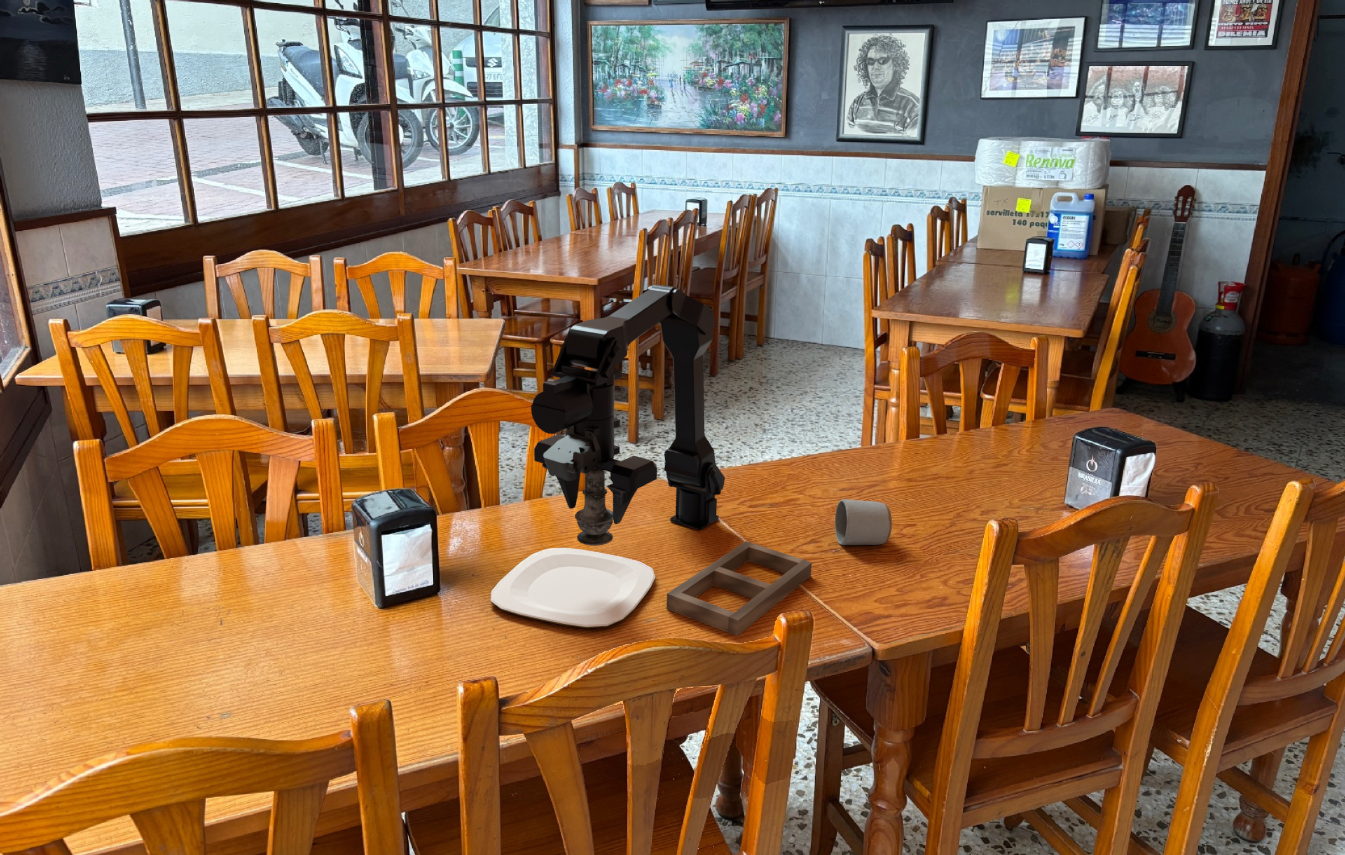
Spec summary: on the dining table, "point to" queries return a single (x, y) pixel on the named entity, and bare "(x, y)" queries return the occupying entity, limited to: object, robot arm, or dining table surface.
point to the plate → (574, 587)
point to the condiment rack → (739, 587)
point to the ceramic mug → (862, 522)
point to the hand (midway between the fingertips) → (594, 515)
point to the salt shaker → (594, 511)
